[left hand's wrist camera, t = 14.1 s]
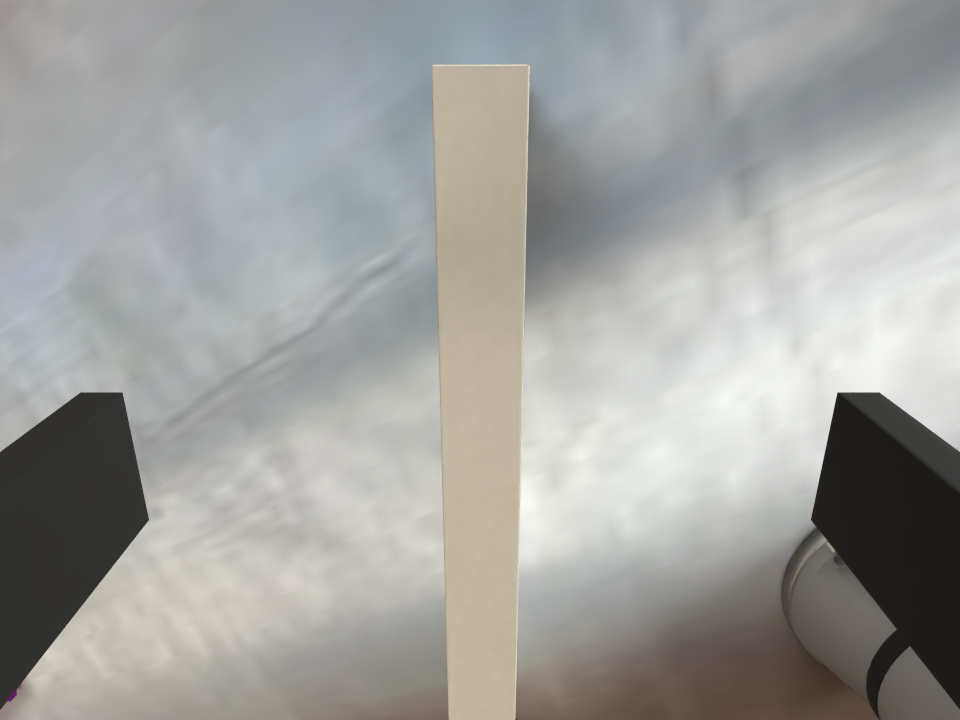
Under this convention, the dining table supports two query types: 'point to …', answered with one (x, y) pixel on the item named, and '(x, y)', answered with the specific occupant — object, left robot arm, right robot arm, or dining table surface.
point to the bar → (481, 371)
